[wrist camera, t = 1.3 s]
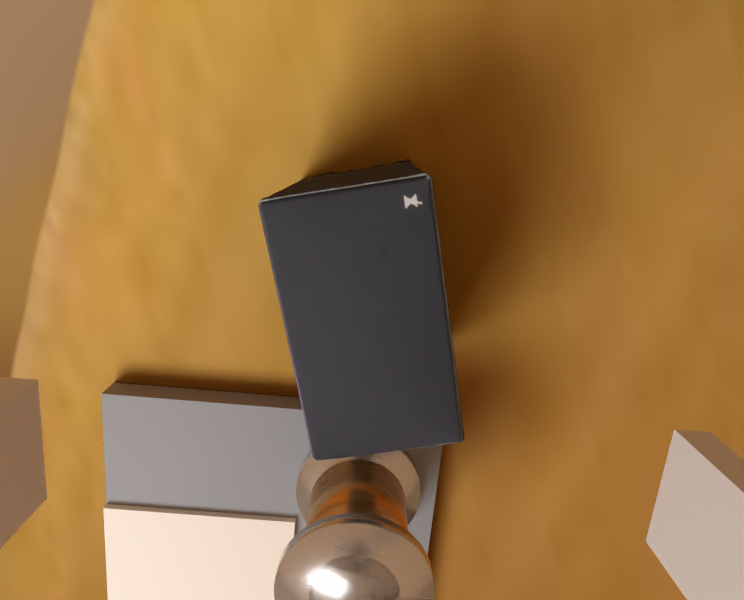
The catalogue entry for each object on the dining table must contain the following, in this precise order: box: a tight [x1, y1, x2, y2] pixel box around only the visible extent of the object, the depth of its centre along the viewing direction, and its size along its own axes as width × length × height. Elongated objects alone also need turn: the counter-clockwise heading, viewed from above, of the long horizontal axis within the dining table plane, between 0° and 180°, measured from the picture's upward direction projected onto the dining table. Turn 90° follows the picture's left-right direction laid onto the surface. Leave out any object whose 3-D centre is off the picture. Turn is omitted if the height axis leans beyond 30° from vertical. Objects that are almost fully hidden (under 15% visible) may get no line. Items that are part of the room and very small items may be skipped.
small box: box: [259, 159, 464, 461], centre depth 25 cm, size 11×6×10 cm, turn 9°
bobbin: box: [274, 450, 435, 600], centre depth 28 cm, size 7×7×8 cm
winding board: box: [102, 383, 443, 600], centre depth 34 cm, size 19×24×2 cm
